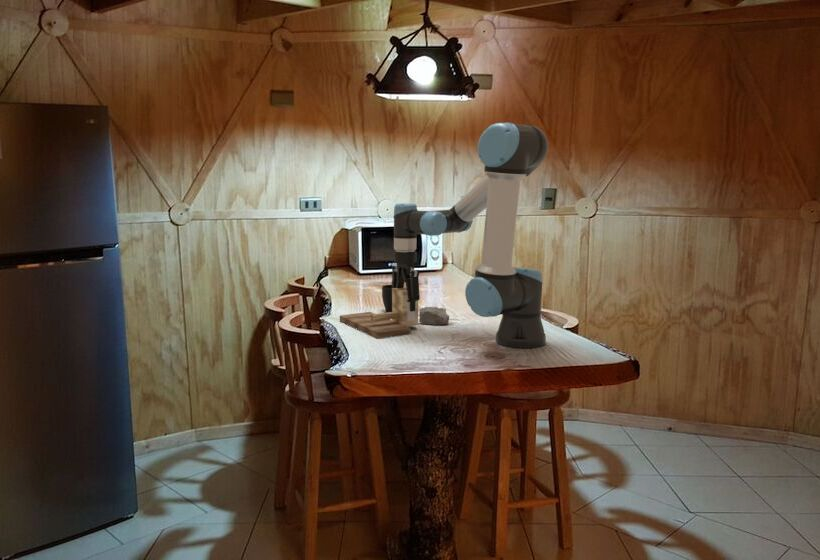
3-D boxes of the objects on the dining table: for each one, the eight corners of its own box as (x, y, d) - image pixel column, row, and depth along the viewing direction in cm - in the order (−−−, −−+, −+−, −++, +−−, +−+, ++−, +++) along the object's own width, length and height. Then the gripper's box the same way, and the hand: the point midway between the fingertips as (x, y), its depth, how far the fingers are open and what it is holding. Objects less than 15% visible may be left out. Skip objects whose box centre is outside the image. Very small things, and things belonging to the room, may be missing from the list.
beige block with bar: (418, 325, 209) (418, 290, 207) (377, 331, 201) (377, 294, 199) (407, 321, 215) (407, 286, 213) (367, 326, 207) (367, 291, 205)
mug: (414, 313, 232) (414, 288, 231) (382, 313, 231) (382, 288, 230) (413, 308, 240) (413, 284, 239) (381, 308, 239) (381, 284, 238)
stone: (423, 327, 211) (423, 310, 210) (417, 322, 219) (417, 305, 218) (450, 325, 213) (451, 309, 212) (444, 320, 221) (444, 304, 220)
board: (410, 333, 202) (410, 327, 201) (377, 338, 195) (377, 332, 195) (370, 317, 225) (370, 311, 225) (339, 321, 219) (339, 315, 219)
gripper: (431, 253, 199) (430, 322, 203) (399, 246, 216) (399, 311, 220) (411, 254, 196) (411, 325, 199) (380, 248, 212) (381, 313, 216)
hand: (405, 318), depth 210 cm, fingers closed on beige block with bar, 7 cm apart
